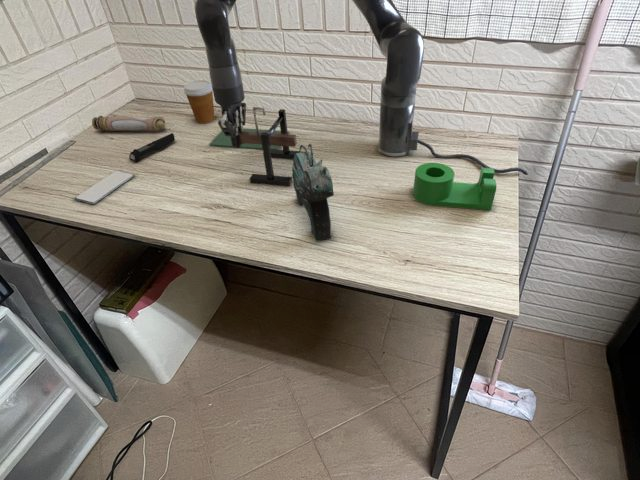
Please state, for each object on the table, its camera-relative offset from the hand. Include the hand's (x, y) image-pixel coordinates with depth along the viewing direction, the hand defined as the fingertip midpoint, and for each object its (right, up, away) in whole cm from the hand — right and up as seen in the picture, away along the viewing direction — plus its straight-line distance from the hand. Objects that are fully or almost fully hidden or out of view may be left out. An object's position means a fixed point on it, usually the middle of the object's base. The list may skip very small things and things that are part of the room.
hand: (238, 145), depth 117 cm
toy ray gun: (+20, -21, -17) cm, 34 cm away
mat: (0, +6, +17) cm, 18 cm away
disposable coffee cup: (-17, +15, +30) cm, 38 cm away
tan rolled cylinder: (-40, +13, +25) cm, 49 cm away
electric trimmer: (-29, +1, +14) cm, 32 cm away
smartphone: (-36, -12, -1) cm, 38 cm away
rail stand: (+11, -6, +2) cm, 13 cm away
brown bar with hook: (+7, 0, -2) cm, 8 cm away
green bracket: (+54, -15, -12) cm, 58 cm away
